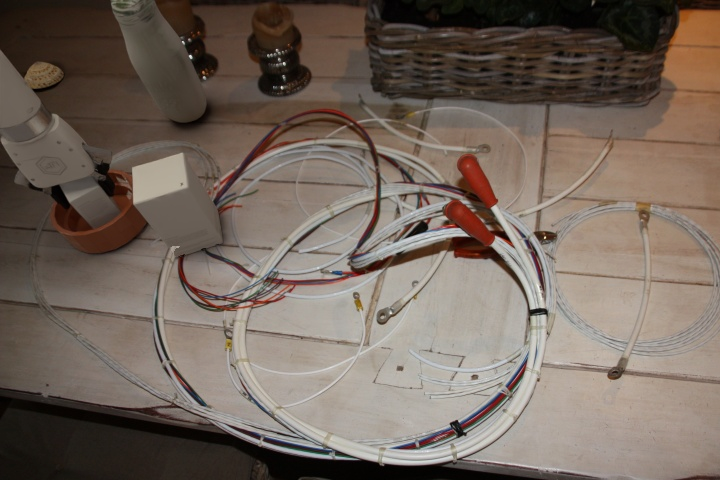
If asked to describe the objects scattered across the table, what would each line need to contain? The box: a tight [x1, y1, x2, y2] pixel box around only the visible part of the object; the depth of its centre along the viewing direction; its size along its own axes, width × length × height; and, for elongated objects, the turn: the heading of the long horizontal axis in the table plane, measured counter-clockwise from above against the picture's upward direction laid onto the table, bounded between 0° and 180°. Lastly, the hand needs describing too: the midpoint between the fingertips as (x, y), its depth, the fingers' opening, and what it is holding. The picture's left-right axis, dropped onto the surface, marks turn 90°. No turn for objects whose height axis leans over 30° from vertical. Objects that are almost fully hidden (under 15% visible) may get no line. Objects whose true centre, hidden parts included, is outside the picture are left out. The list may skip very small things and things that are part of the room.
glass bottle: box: [110, 0, 208, 123], centre depth 107 cm, size 10×10×28 cm
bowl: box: [49, 168, 148, 254], centre depth 101 cm, size 16×16×6 cm
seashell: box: [23, 60, 65, 90], centre depth 131 cm, size 8×6×8 cm
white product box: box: [131, 152, 224, 257], centre depth 93 cm, size 9×9×15 cm
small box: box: [59, 175, 122, 229], centre depth 98 cm, size 8×6×10 cm
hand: (89, 197), depth 97 cm, fingers closed on small box, 7 cm apart
